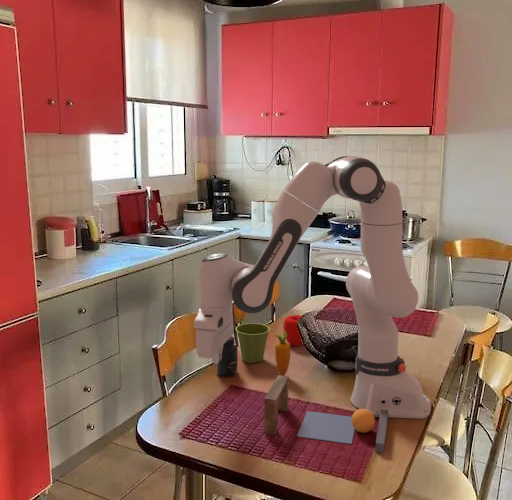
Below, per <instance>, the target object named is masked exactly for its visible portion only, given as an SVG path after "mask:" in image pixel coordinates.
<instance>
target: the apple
mask: <svg viewBox="0 0 512 500" xmlns="http://www.w3.org/2000/svg"><path fill="white" fill-rule="evenodd" d="M302 316H303V315H300V314H296V315H295V314H294V315H288V316H286V317H285V318H284V320H283V325H282V326H283V332H284V331H286V335H287V337H286V340H285V341H286V342H287V343H289V345H290V346H292V347H299V346H301V345H303V343H302V341H301V338H300V335H299V332H298V328H297V322H298V320H299V319H300V318H301V317H302Z"/></svg>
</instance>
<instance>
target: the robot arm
mask: <svg viewBox="0 0 512 500" xmlns="http://www.w3.org/2000/svg"><path fill="white" fill-rule="evenodd" d="M336 195H338V196H341V197H343V198H345V199H350V200H353V201H357V202H358V204H359V206H360V250H361V253H362V255H363V257H364V258H365V261H366V263H367V265H359V266H356V267H354V268H353V269H351V271H350V272H348V275H347V277H346V280H345V286H346V290H347V292H348V294H349V296H350V297H351V300H352V303H353V305H352V306H353V308H354V312H355V318H356V321H357V328H358V329H357V331H358V332H357V333H358V334H357V337H358V338H357V339H358V340H357V342H358V345H357V353H356V356H355V374H356V375H355V381H354V386H353V390H352V393H351V397H350V403H351V404H352V405H353V406H354V407H356V408H357V409H358V410H359V409H366V410H369V411H370V412H371V413H372V414H373V416H374V418H380V411H381V409H383V410H388V418H396V419H397V418H398V419H399V418H400V419H418V420H419V419H426V418H428V417H429V416H430V415H431V412H432V405H431V400H430V398H429V397H428V396H427V395H425V394H424V390H423V387H422V385H421V383H420V381H419V380H418V379H417V378H415V377H414V376H413V375H412V374H411V373H409V372H408V371H407V369H406V368H407V366H406V364H405V359H404V357H403V356H401V357H400V355H398V354H399V353H398V352H399V351H398V349H399V334H400V333H399V329H398V326H397V325H396V323H395V322H394V319H393V317H394V318H400V319H401V318H407V317H409V316H410V315H411V314H412V313H414V311H415V310H416V308H417V306H418V304H419V293H418V290H417V288H416V287H415V285H414V284H413V282H412V279H411V278H410V276H409V273H408V268H407V265H406V262H405V258H404V252H403V205H402V197H401V191H400V188H399V187H398V185H397V184H395V183H393V182H391V181H388V180H385V179H384V177H383V176H382V174H381V171H380V170H379V168H378V167H377V165H376V164H375V162H373V161H372V160H370V159H367V158H363V157H360V156H355V155H351V156H350V155H349V156H348V155H344V156H340V157H337V158H335V159H333V160H332V161H329V162H327V163H326V164H323V163H321V162H318V161H307V162H305V163H304V164H303V165H302V166H301V167H300V168H299V169H298V170H297V171H296V172H295V174H294V175H293V176H292V177H291V178H290V180H289V181H288V183H287V184H286V186H285V187H284V189H283V190H282V191H281V193H280V194H279V197H278V199H277V201H276V202H275V205H274V208H273V210H272V215H271V217H272V218H271V219H272V229H271V234H270V238H269V240H268V243H267V244H266V247H265V248H264V249H263V251H262V253H261V254H260V256H259V258H258V260H257V261H256V263H255V264H252V263H247V262H244V261H240V260H238V259H236V258H234V257H232V256H231V255H229V253H226V252H223V253H222V252H217V253H212V254H209V255H207V256H205V257H204V258H203V259H201V260H202V261H201V262H200V265H199V271H198V272H199V273H198V289H199V292H200V299H199V309H198V313H197V315H196V317H195V318H194V321H193V327H194V328H195V329H196V331H195V346H196V348H195V349H196V354H197V356H198V358H201V359H211V363H212V364H217V363H218V362H219V361H220V360H221V359H222V350H223V344H224V343H225V342H226V341H227V340H228V339H229V338H230V337H231V336H232V337H233V335H234V330H235V329H234V325H235V324H234V315H233V304H234V305H235V307H236V308H237V309H238V310H239V311H241V312H243V313H246V314H257V313H259V312H262V311H264V310H265V309H266V308H268V306H269V305H270V304H271V302H272V299H273V294H274V287H275V284H276V281H277V279H278V277H279V275H280V273H281V271H282V270H283V268H284V267H285V264H286V263H287V262H288V260H289V258H290V256H291V254H292V252H293V251H294V250H295V248H296V246H297V244H298V243H299V241H300V240H301V239H302V237H303V236H304V234H305V233H306V232H307V230H308V229H309V228H310V226H311V224H312V223H313V222H314V221H315V219H316V217H317V216H318V214H319V213H320V211H321V210H322V208H323V206H324V205H325V203H326V202H327V201H328V200H329V199H331V198H332V197H333V196H336Z"/></svg>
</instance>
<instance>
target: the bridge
mask: <svg viewBox="0 0 512 500" xmlns="http://www.w3.org/2000/svg"><path fill="white" fill-rule="evenodd" d="M289 377H290V376H288V375H284V376H281V375H279V374H278V375H277V377H276V378H275V379H274V382H273V383H272V385H271V387H270V388H269V390H268V392H267V394H266V395H265V396H264V404H263V405H264V406H263V407H264V417H263V419H264V421H263V422H264V427H263V428H264V429H263V430H264V434H267V435H274V436H275V435H276V434H277V433H278V425H279V424H278V421H279V420H278V419H279V418H278V415H279V413H278V411H279V412H280V411H281V412H288V410H289V388H290V387H289V386H290V385H289V383H290V382H289Z"/></svg>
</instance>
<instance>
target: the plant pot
mask: <svg viewBox="0 0 512 500" xmlns="http://www.w3.org/2000/svg"><path fill="white" fill-rule="evenodd" d="M234 330H235V331H236V333H237V337H238V340H239V341H238V343H239V349H240V354H241V360H242V361H243V362H245V363H249V364H254V363H260V362H262V361H263V360H264V357H265V352H266V351H265V350H266V345H267V341H268V340H267V339H268V336H269V333H270V332H271V328H270V326H268V325H267V324H263V323H258V322H250V323H242V324H239V325H237V326H236V327H235V329H234Z"/></svg>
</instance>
